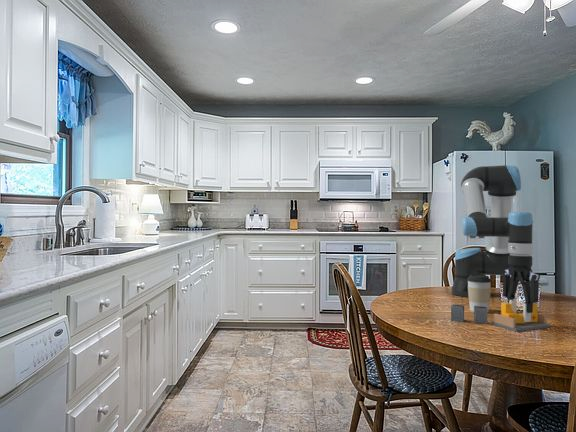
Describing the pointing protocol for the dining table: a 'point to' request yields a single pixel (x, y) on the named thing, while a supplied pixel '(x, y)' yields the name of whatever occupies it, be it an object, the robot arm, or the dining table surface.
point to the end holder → (512, 325)
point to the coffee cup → (479, 291)
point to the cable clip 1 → (457, 313)
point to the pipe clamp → (507, 311)
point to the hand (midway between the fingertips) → (519, 319)
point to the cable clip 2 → (480, 314)
